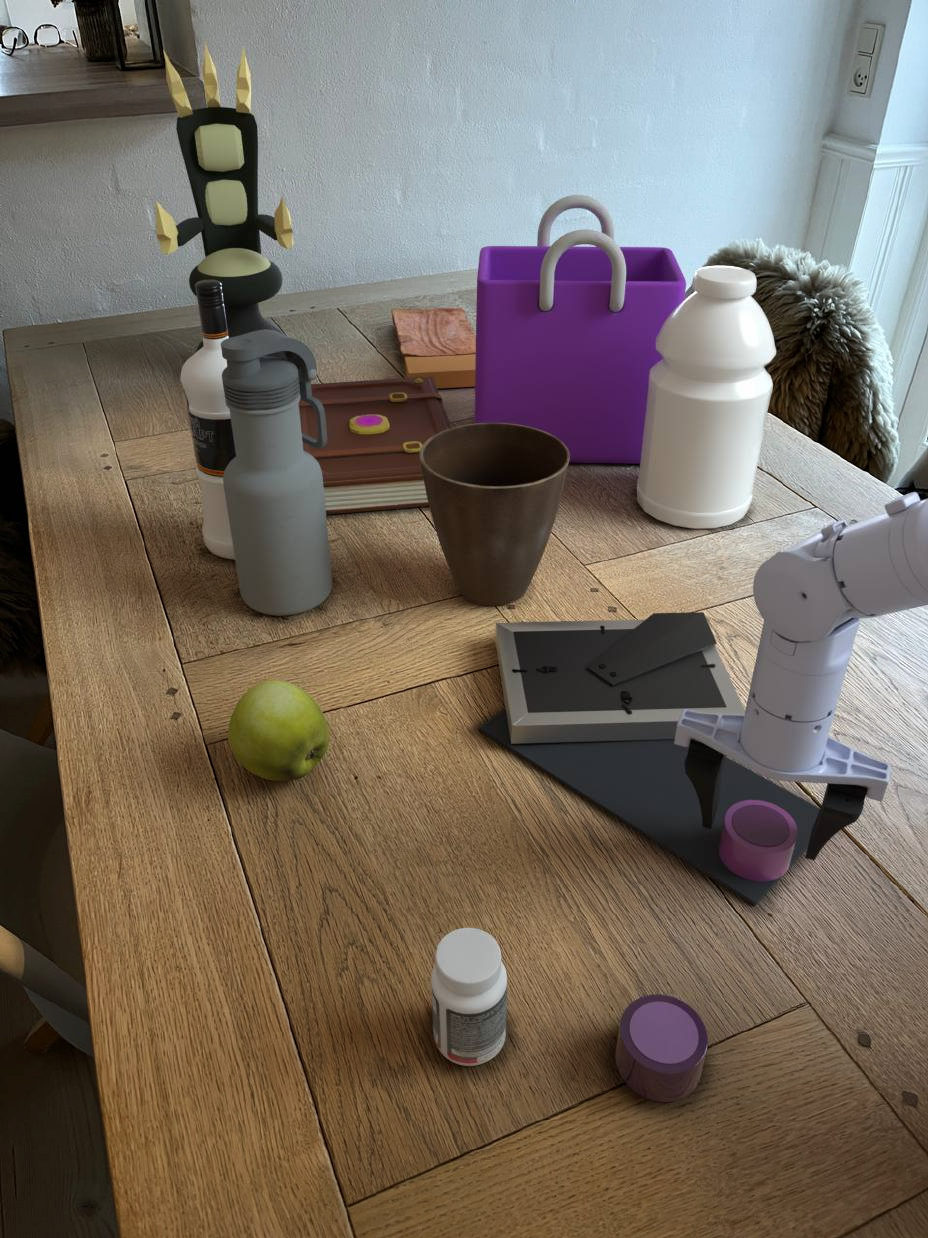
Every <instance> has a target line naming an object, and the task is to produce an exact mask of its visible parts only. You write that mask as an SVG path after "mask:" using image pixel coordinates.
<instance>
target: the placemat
mask: <svg viewBox="0 0 928 1238" xmlns="http://www.w3.org/2000/svg"><path fill="white" fill-rule="evenodd" d="M478 731H479V732H481V733H482V734H483V735H485V736H487V737H488V738H489V739H492V740H493V741H495V742H497V743H498V744H500V745H501V746H502V747H504V748H505V749H508V750H509V751H510V752H512V753H514V754H515V755H517V756H518V757H520V758H522V759H523V760H524V761H526V762H527V763H529V764H531V765H532V766H534V767H536V768H537V769H539V770H540V771H542V772H543V773H545V774H546V775H548V776H550V777H551V778H553V779H555V780H556V781H558V782H559V783H561V784H562V785H564V786H565V787H567V788H568V789H570V790H572V791H573V792H575V793H576V794H578V795H580V796H581V797H583V798H584V799H586V800H588V801H589V802H591V803H592V804H594V805H595V806H597V807H598V808H599V809H602V810H603V811H605V812H606V813H608V814H609V815H611V816H612V817H614V818H615V819H617V820H619V821H620V822H622V823H624V824H625V825H627V826H628V827H630V828H631V829H633V830H635V831H636V832H638V833H639V834H641V835H642V836H644V837H645V838H647V839H649V840H650V841H652V842H654V843H655V844H656V845H658V846H660V847H661V848H663V849H665V850H666V851H667V852H669V853H671V854H672V855H674V856H675V857H677V858H679V859H680V860H682V861H683V862H684V863H686V864H688V865H690V866H691V867H693V868H694V869H696V870H697V871H698V872H701V873H702V874H704V875H705V876H707V877H708V878H709V879H712V880H713V881H715V882H716V883H718V884H719V885H721V886H723V887H725V889H727V890H729V891H730V892H732V893H733V894H735V895H737V897H740V898H741V899H743V900H744V901H746V902H748V903H749V904H751V905H752V906H754V907H756V906H757V905H758V904H759V903H760V902H761V900H762V899H763V898H764V897H765V896H766V895H767V894H768V893H770V891H771V889H773V887H774V886H775V885H776V884H777V883H778V882H779V881H780V879H781V878H782V877H783V876H781V877H780V878H778V879H776V880H773V881H768V882H757V881H751V880H747V879H744V878H742V877H740V876H738V875H736V874H735V873H733V872H732V871H730V870H729V869H728V868H727V867H726V866H725V865H724V863H723V862H722V860H721V858H720V856H719V852H718V846H719V840H720V836H721V831H722V826H723V821H724V817H725V814H726V812H727V810H728V809H729V808H730V807H731V806H732V805H734V804H736V803H738V802H741V801H745V800H760V801H765V802H769V803H772V804H774V805H776V806H778V807H780V808H782V809H783V810H784V811H786V812H787V813H788V814H789V815H790V816H791V817H792V818H793V820H794V821H795V823H796V826H797V829H798V837H797V840H796V844H795V848H794V851H793V855H792V858H791V862H790V866H789V868H788V870H789V869H790V868H791V867H792V866H793V865H794V864H795V863H796V862H797V861H798V859H799V858H800V857H802V855H803V854H804V853H805V852H806V851H807V848H808V843H809V839H810V835H811V831H812V828H813V825H814V823H815V820H816V818H817V815H818V813H819V810H820V808H821V807H818V806H817V805H815V804H812V803H811V802H809V801H807V800H806V799H803V798H801V797H800V796H798V795H796V794H795V793H792V792H791V791H789V790H787V789H786V788H783V787H782V786H779V785H778V784H776V783H774V782H773V781H771V780H769V779H767V778H766V777H764V776H762V775H760V774H758V773H756V772H755V771H753V770H751V769H749V768H747V767H746V766H744V765H742V764H740V763H738V762H736V761H735V760H733V759H731V758H729V757H727V756H726V759H725V763H724V768H723V772H722V779H721V789H720V798H719V804H718V808H717V812H716V815H715V818H714V821H713V824H712V827H711V829H709V828H705V827H703V826H702V813H701V808H700V803H699V799H698V796H697V793H696V791H695V788H694V786H693V784H692V782H691V781H690V779H689V777H688V776H687V775H686V773H685V759H686V757H687V754H688V750H689V747H683V746H679V745H676V744H674V741H675V739H662V740H627V741H592V742H557V743H522V744H511V740H510V733H509V727H508V720H507V714H506V708H504V709H503V710H501V711H500V712H499V713H497V714H495V715H494V716H493V717H491V718H490V719H489V720H487V721H486V722H485V723H483V724H481V725H479V727H478Z"/></svg>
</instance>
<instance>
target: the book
mask: <svg viewBox="0 0 928 1238" xmlns="http://www.w3.org/2000/svg"><path fill="white" fill-rule="evenodd" d="M311 390H312V397H314V398H317V399H318V400H319V401H320V402H321V403H322V405H323V407H324V410H325V418H326V429H327V445H326V446H325V447H323V448H320V449H317V448H315V447H313V446H311V445H309V444H307V443H305V442H303V441H302V442H303V451H306V452H307V453H309V454H310V455H312V456H313V457H314V458H315V459H316V460H317V462H318V463H319V465H320V468H321V471H322V477H323V488H324V499H325V509H326V515H336V514H337V515H338V514H349V513H360V512H361V513H362V512H371V511H384V510H395V509H409V508H419V507H420V508H422V507H429V503H428V499H427V495H426V490H425V484H424V479H423V474H422V468H421V462H420V449H421V447H422V446H423V444H424V443H425V442H426V441H427V440H428V439H429V438H431V437H432V436H434V435H436V434H438V433H440V432H442V431H444V430H447V429H450V428H452V425H451V422H450V420H449V416H448V415H447V412H446V409H445V407H444V403H443V402H444V401H443V400H444V399H443V396H442V395H441V394H440V393H439V391H438V388H436V385H435V382H434V380H433V377H432V376H428V377H413V378H406V377H400V378H383V379H367V380H353V381H351V380H350V381H338V382H336V381H335V382H322V383H311ZM298 404H299V413H300V423H301V432H302V433H304V434H306V435H308V436H310V437H312V438H314V439H316V440H318V424H317V416H316V412H315V410H314V408H313V407H312V406H311V405H310V404H309V403H307V402H304V401H302V400H300V401H299V403H298Z"/></svg>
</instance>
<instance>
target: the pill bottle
mask: <svg viewBox="0 0 928 1238" xmlns="http://www.w3.org/2000/svg"><path fill="white" fill-rule="evenodd" d="M434 955H435V956H434V957H435V958H434V959H435V961H434V966H433V967H432V970H431V971H432V972H431V976H430V988H431V989H430V991H431V1005H432V1006H431V1010H432V1011H431V1012H432V1029H433V1030H432V1031H433V1039H434V1043H435V1046H436V1048H437V1049H438V1050H439V1052H440V1053H441V1054H442V1055H443V1057H445V1058H446V1059H447V1060H449V1061H450V1062H452V1063H454V1064H455V1065H460V1066H465V1067H473V1066H475V1067H476V1066H479V1065H482V1064H485V1063H487V1062H489V1061H490V1060H492V1059H493V1058H494V1057H496V1056H497V1055H498V1054H499V1053H500V1051H501V1050H502V1048H503V1046H504V1044H505V1041H506V1037H507V1008H508V1002H507V1001H508V974H507V971H506V966H505V965H504V962H503V961H502V952H501V947H500V945H499V943H498V942H497V940H496V939H495V938H494V937H493V936H492V935H491V934H490V933H488V932H487V931H485V930H482V929H479V928H476V927H462V928H461V927H460V928H458V929H454V930H452V931H450V932H448V933H447V934H445V936H443V937H442V938H441V939H440V941H439V943H438V944H437V947H436V950H435V954H434Z"/></svg>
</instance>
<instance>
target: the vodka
mask: <svg viewBox="0 0 928 1238" xmlns="http://www.w3.org/2000/svg"><path fill="white" fill-rule="evenodd" d="M221 286H222V284H221V282H219V281H217V280H202V281H199V282H197V283H196V284H195V288H196V294H197V297H196V299H197V305H198V313H199V320H200V327H201V333H202V334H201V335H202V340H203V344H204V346H203V347H202V348H201V349H200V350H199V351H197V352H196V351H195V352H196V353H195V352H194V354H192V355H191V356H189V358H188V359H187V360H185V362H184V363H183V365H182V367H181V372H180V377H179V380H180V383H181V385H182V388H183V394H184V399H185V406H186V411H187V418H188V422H189V428H190V429H189V430H190V435H191V439H192V447H193V452H194V458H195V459H194V460H195V464H196V466H195V473H196V475H197V477H198V483H199V487H200V494H201V495H200V496H201V506H202V519H203V523H202V527H201V532H202V540H203V543H204V545H205V546H206V547H207V550H208V551H209V552H211V553H212V554H213V555H216V556H217V557H220V558H224V559H228V560H232V561H233V560H234V561H235V555H234V549H233V542H232V536H231V530H230V523H229V517H228V511H227V504H226V498H225V491H224V485H223V475H224V471H225V469H226V467H227V466H228V464H229V463H230V462H231V461H232V460H233V459H234V458H235V457H236V451H235V445H234V438H233V431H232V424H231V417H230V410H229V408H228V407H227V406H226V402H225V400H226V399H225V395H224V388H223V381H222V372H223V370H224V369H225V368H226V367H227V360H226V359H224V358H223V356H222V350H221V342H222V341H223V340H225V339H228V338H229V337H228V329H227V322H226V315H225V307H224V304H223V303H224V300H223V293H222V287H221Z"/></svg>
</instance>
